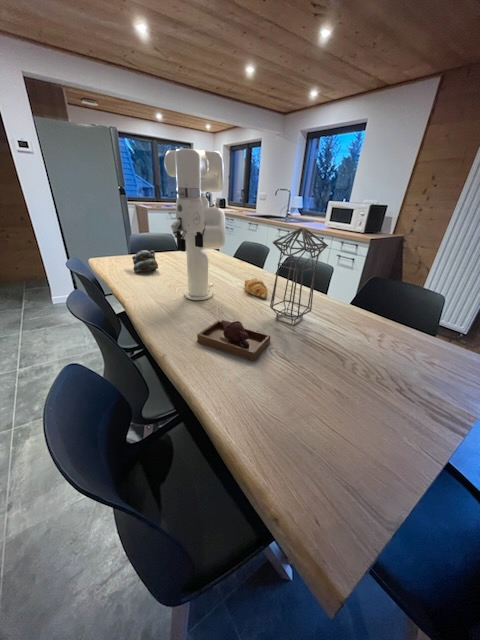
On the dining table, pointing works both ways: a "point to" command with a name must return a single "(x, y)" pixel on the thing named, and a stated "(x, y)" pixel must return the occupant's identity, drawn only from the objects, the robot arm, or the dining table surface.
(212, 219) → the robot arm
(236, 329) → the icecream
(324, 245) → the geometric lantern
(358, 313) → the dining table surface
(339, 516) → the dining table surface
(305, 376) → the dining table surface
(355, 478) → the dining table surface
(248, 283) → the croissant
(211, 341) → the tray
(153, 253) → the grey lumpy block
